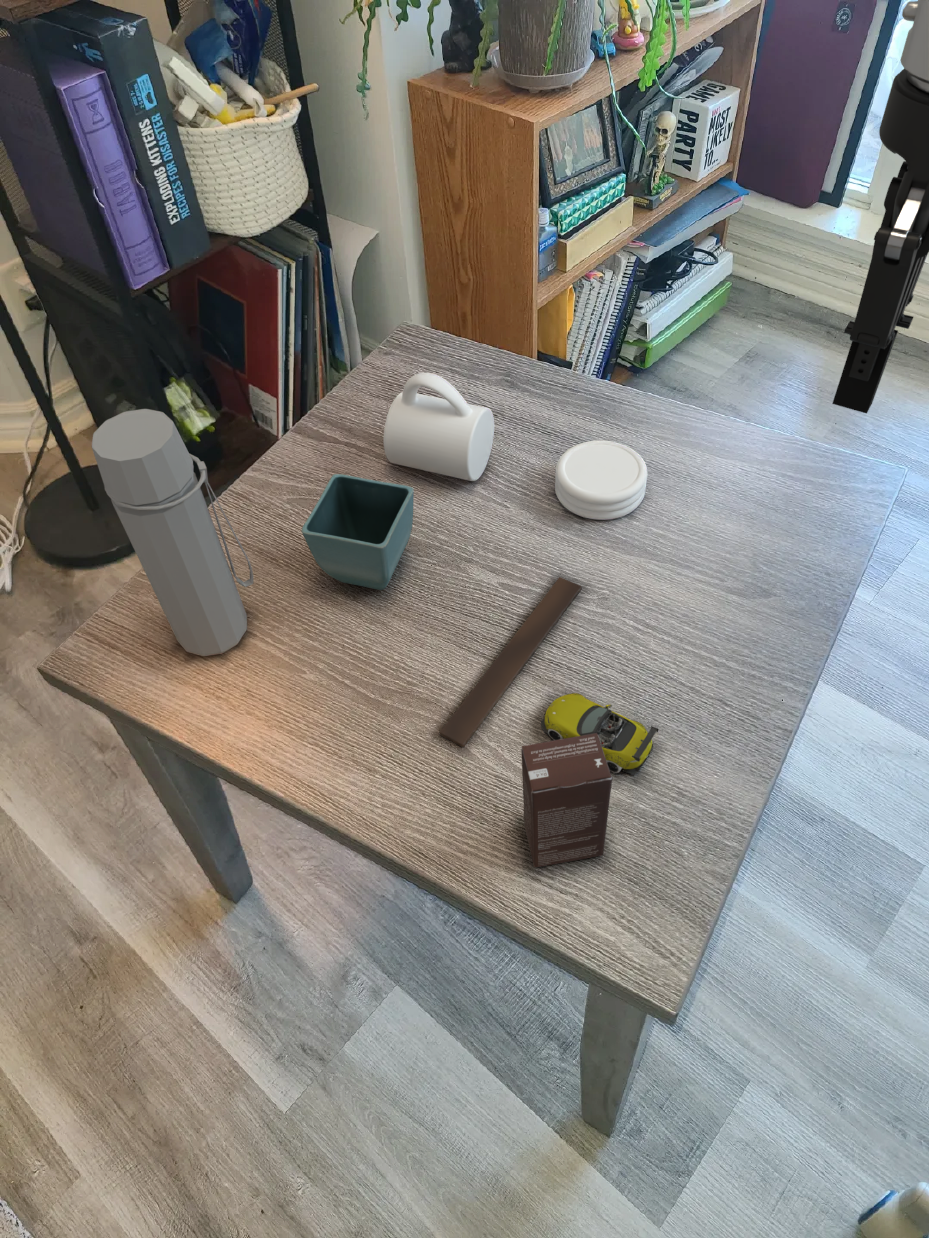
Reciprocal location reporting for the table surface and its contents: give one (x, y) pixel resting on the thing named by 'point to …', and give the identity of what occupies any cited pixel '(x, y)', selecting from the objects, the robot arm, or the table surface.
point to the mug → (438, 430)
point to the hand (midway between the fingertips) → (852, 403)
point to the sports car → (600, 730)
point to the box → (565, 799)
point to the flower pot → (360, 529)
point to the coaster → (600, 479)
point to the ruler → (509, 663)
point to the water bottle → (172, 528)
